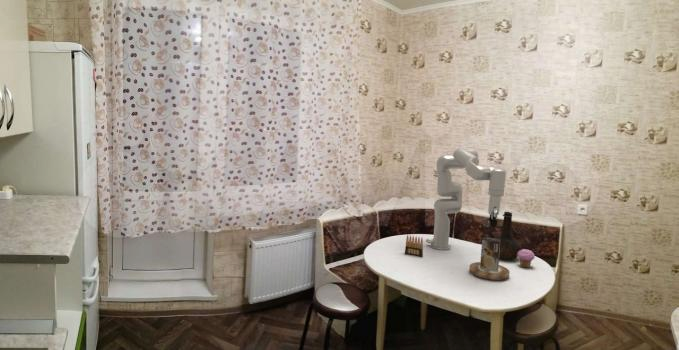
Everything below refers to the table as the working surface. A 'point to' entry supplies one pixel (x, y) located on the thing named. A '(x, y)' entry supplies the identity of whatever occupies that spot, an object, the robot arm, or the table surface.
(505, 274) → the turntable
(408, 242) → the ammunition clip
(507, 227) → the dark brown vase
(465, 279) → the table surface
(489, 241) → the coffee box
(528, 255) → the cupcake
